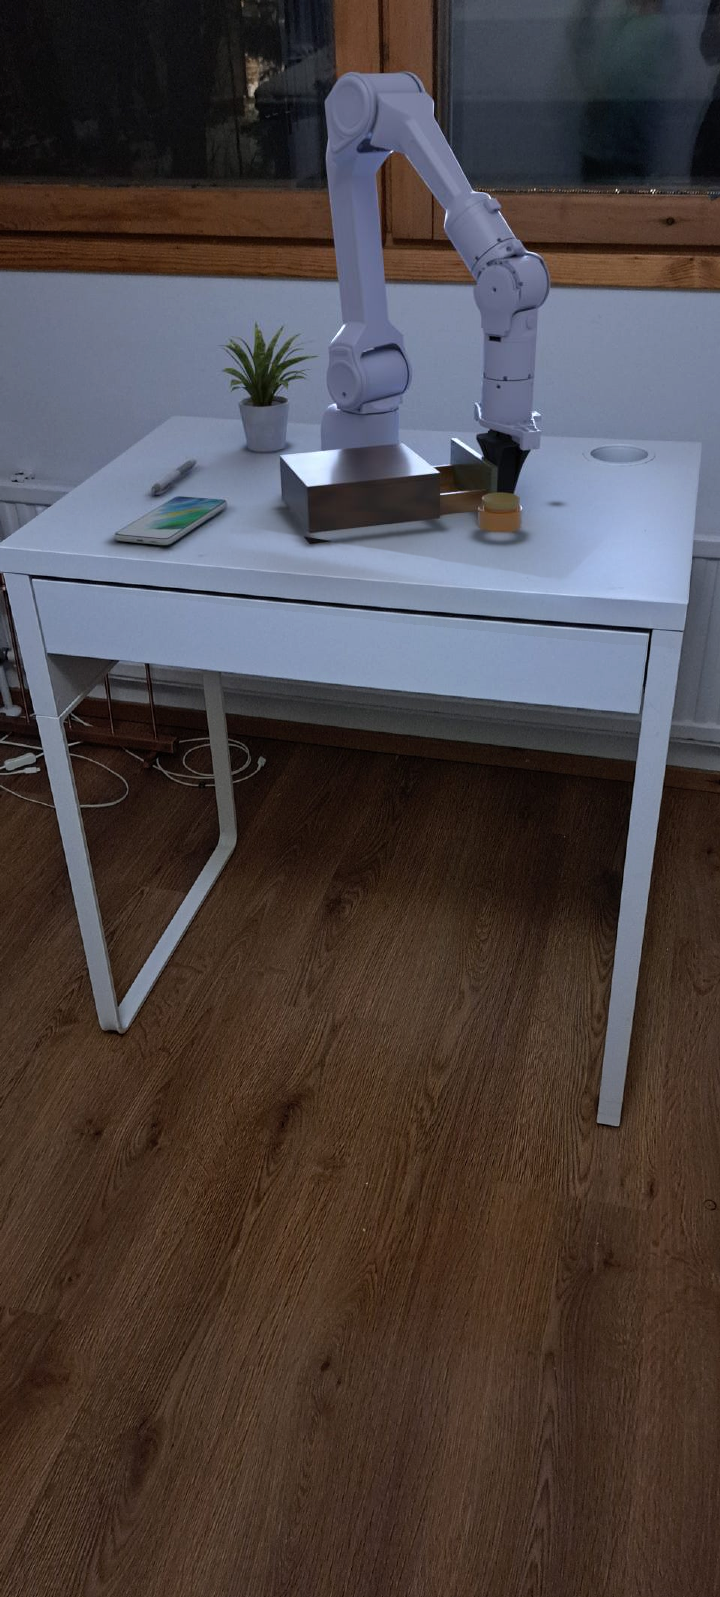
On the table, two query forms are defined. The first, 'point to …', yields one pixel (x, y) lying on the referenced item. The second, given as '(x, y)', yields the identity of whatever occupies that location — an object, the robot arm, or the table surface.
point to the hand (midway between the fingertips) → (502, 497)
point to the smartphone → (171, 520)
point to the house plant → (264, 391)
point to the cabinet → (359, 488)
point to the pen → (172, 477)
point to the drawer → (465, 480)
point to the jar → (500, 512)
